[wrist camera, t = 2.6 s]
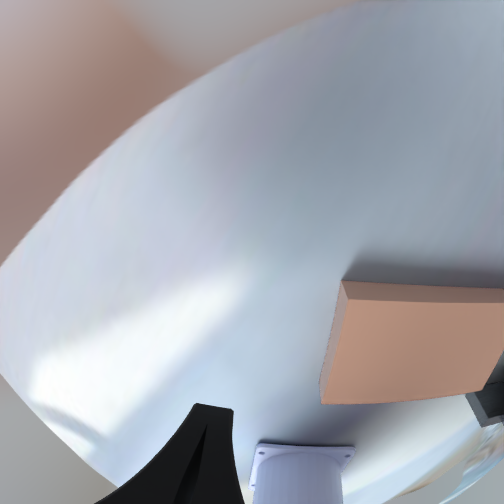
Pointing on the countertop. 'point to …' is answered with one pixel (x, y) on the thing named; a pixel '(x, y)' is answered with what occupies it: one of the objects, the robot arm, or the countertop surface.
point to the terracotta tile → (410, 342)
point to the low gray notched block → (488, 404)
